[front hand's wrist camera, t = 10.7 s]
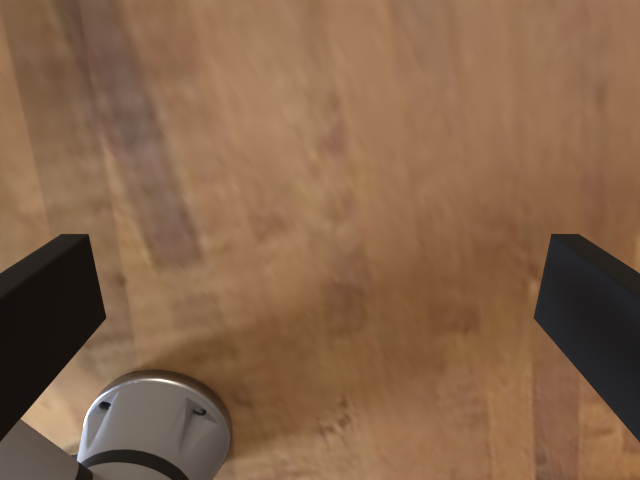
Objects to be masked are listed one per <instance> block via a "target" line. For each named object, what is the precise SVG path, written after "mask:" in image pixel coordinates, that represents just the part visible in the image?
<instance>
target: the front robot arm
mask: <svg viewBox="0 0 640 480" xmlns="http://www.w3.org/2000/svg"><path fill="white" fill-rule="evenodd" d="M105 319H106V314H105V310H104V305H103V300H102V296H101V291H100V286H99V281H98V277H97V272H96V267H95V263H94V258H93V253H92V249H91V244H90V239H89V235H88V234H61V235H59V236H58V237H56V238H55V239H53V240H52V241H50V242H48V243H47V244H45V245H44V246H42V247H41V248H39V249H38V250H36V251H34V252H33V253H31V254H30V255H28V256H27V257H25V258H24V259H22V260H20V261H19V262H17V263H16V264H14V265H13V266H11V267H10V268H8V269H6V270H5V271H3V272H2V273H0V480H213V478H214V477H215V475H216V474H217V472H218V471H219V469H220V468H221V466H222V465H223V463H224V461H225V459H226V457H227V453H228V449H229V445H230V440H231V435H232V425H231V420H230V416H229V414H228V411H227V409H226V408H225V406H224V404H223V403H222V401H221V400H220V399H219V398H218V397H217V395H215V394H214V393H213V392H212V391H211V390H210V389H209V388H207V387H206V386H205V385H203V384H202V383H200V382H198V381H196V380H194V379H192V378H190V377H187V376H184V375H182V374H178V373H174V372H169V371H161V370H147V371H139V372H134V373H131V374H127V375H125V376H122V377H120V378H118V379H116V380H114V381H113V382H112V383H110V384H109V385H108V386H106V387H105V388H104V389H103V391H102V392H101V393H100V394H99V396H98V397H97V399H96V400H95V402H94V403H93V405H92V406H91V408H90V409H89V411H88V413H87V415H86V418H85V422H84V428H83V433H82V438H81V443H80V447H79V452H78V454H77V455H72V456H70V455H69V454H67V453H66V452H65V451H63V450H62V449H61V448H59V447H58V446H56V445H55V444H54V443H52V442H51V441H50V440H48V439H47V438H45V437H44V436H43V435H41V434H40V433H39V432H37V431H36V430H35V429H33V428H32V427H30V426H29V425H28V424H26V423H25V422H24V421H22V420H21V419H20V418H21V417H22V416H23V415H24V414H25V413H26V411H27V410H28V409H29V408H30V407H31V406H32V404H33V403H34V402H35V401H36V400H37V399H38V397H39V396H40V395H41V394H42V393H43V392H44V390H45V389H46V388H47V387H48V386H49V384H50V383H51V382H52V381H53V380H54V379H55V377H56V376H57V375H58V374H59V373H60V372H61V370H62V369H63V368H64V367H65V366H66V365H67V363H68V362H69V361H70V360H71V359H72V358H73V356H74V355H75V354H76V353H77V352H78V351H79V349H80V348H81V347H82V346H83V345H84V343H85V342H86V341H87V340H88V339H89V338H90V336H91V335H92V334H93V333H94V332H95V331H96V329H97V328H98V327H99V326H100V325H101V324H102V322H103V321H104V320H105ZM534 319H535V320H536V321H537V322H538V324H539V325H540V326H541V327H542V328H543V329H544V331H545V332H546V333H547V334H548V335H549V336H550V338H551V339H552V340H553V341H554V342H555V343H556V345H557V346H558V347H559V348H560V349H561V351H562V352H563V353H564V354H565V355H566V356H567V358H568V359H569V360H570V361H571V362H572V363H573V365H574V366H575V367H576V368H577V369H578V370H579V372H580V373H581V374H582V375H583V376H584V377H585V379H586V380H587V381H588V382H589V383H590V384H591V386H592V387H593V388H594V389H595V390H596V392H597V393H598V394H599V395H600V396H601V397H602V399H603V400H604V401H605V402H606V403H607V404H608V406H609V407H610V408H611V409H612V410H613V411H614V413H615V414H616V415H617V416H618V417H619V418H620V420H621V421H622V422H623V423H624V424H625V425H626V427H627V428H628V429H629V430H630V431H631V432H632V434H633V435H634V436H635V437H636V438H637V440H638V441H639V442H640V273H638V272H637V271H635V270H634V269H632V268H630V267H629V266H627V265H626V264H624V263H623V262H621V261H620V260H618V259H616V258H615V257H613V256H612V255H610V254H609V253H607V252H606V251H604V250H602V249H601V248H599V247H598V246H596V245H595V244H593V243H592V242H590V241H588V240H587V239H585V238H584V237H582V236H581V235H579V234H552V235H551V239H550V244H549V249H548V253H547V258H546V263H545V267H544V272H543V277H542V281H541V286H540V291H539V296H538V300H537V305H536V310H535V314H534Z"/></svg>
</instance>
